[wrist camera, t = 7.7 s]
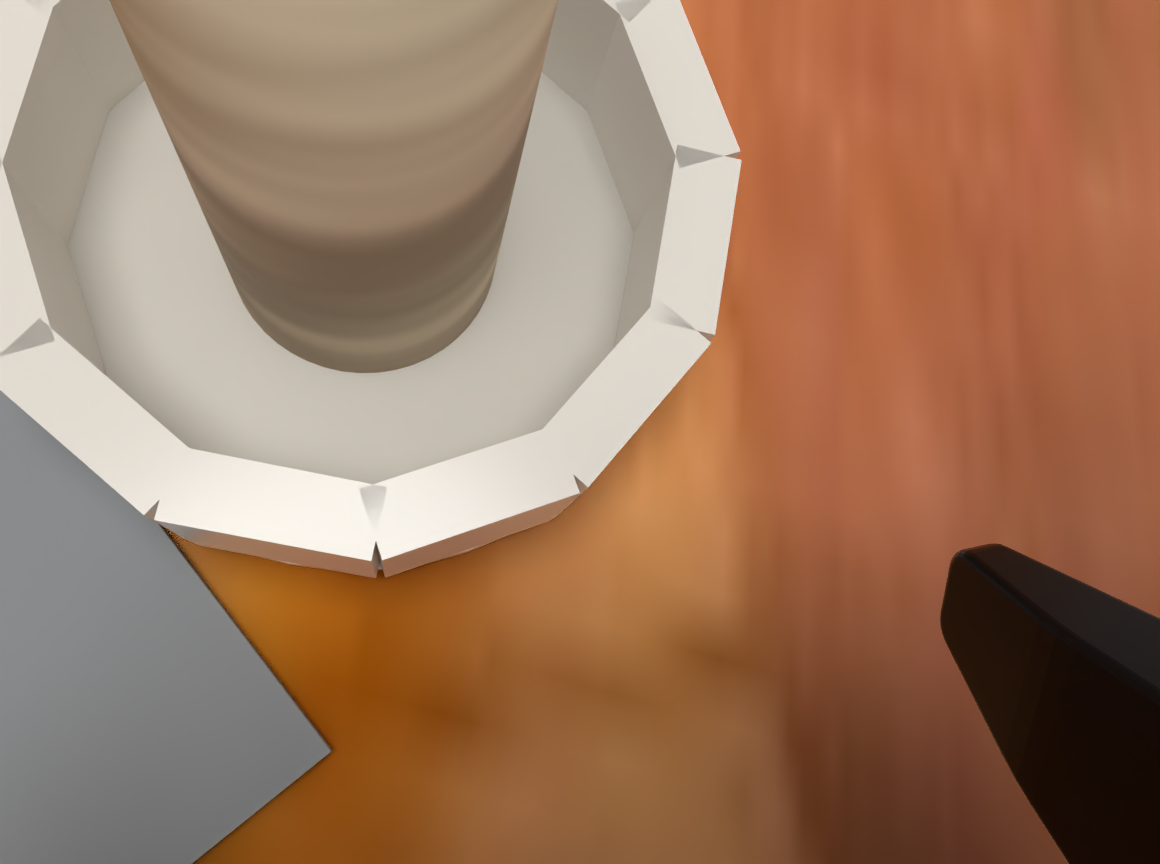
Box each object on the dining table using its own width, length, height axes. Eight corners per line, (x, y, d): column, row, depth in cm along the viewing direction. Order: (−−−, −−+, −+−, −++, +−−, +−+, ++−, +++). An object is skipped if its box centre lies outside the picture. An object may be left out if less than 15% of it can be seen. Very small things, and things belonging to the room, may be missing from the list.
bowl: (791, 242, 20) (872, 154, 17) (388, 713, 17) (385, 725, 14) (344, -141, 20) (332, -307, 17) (-128, 263, 18) (-258, 165, 14)
